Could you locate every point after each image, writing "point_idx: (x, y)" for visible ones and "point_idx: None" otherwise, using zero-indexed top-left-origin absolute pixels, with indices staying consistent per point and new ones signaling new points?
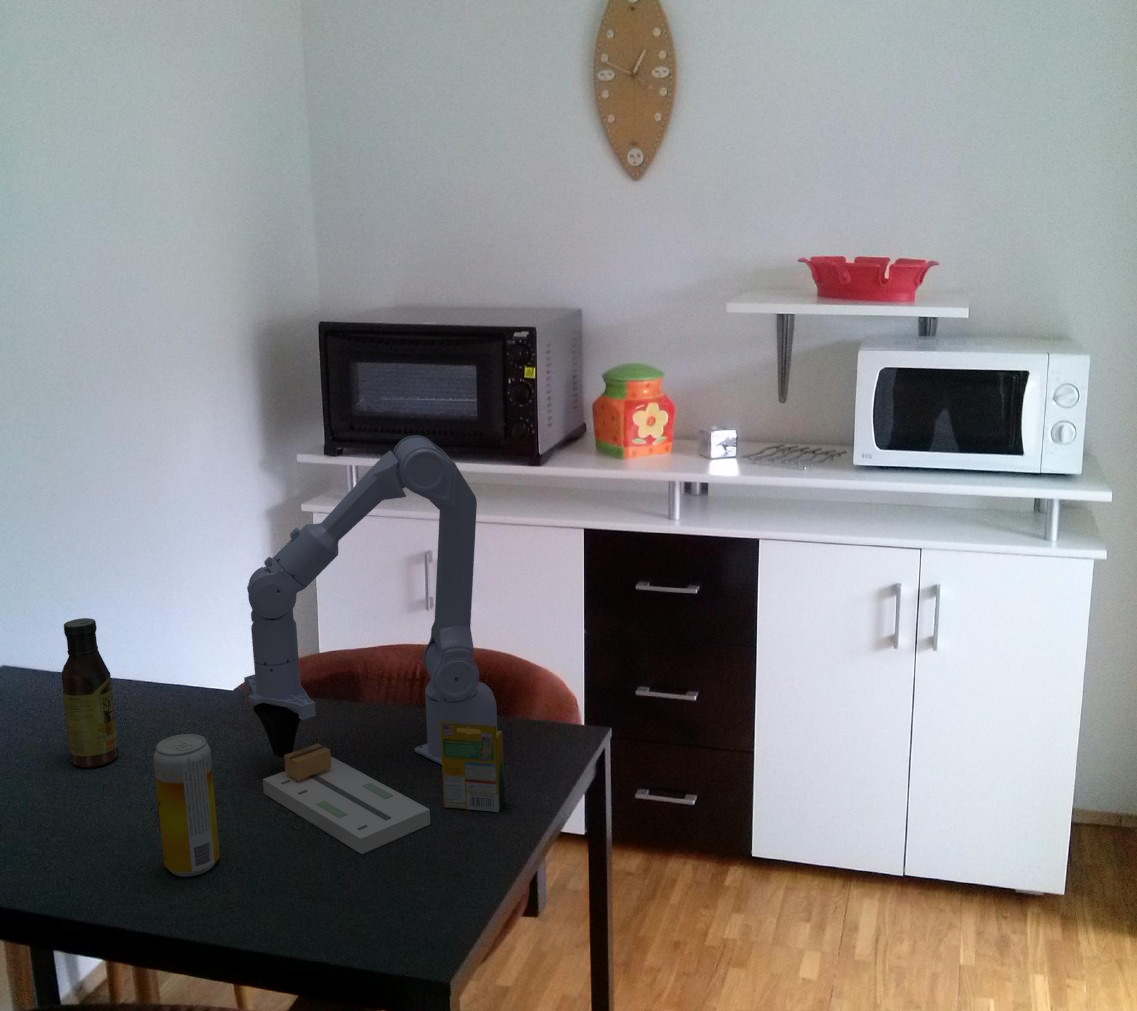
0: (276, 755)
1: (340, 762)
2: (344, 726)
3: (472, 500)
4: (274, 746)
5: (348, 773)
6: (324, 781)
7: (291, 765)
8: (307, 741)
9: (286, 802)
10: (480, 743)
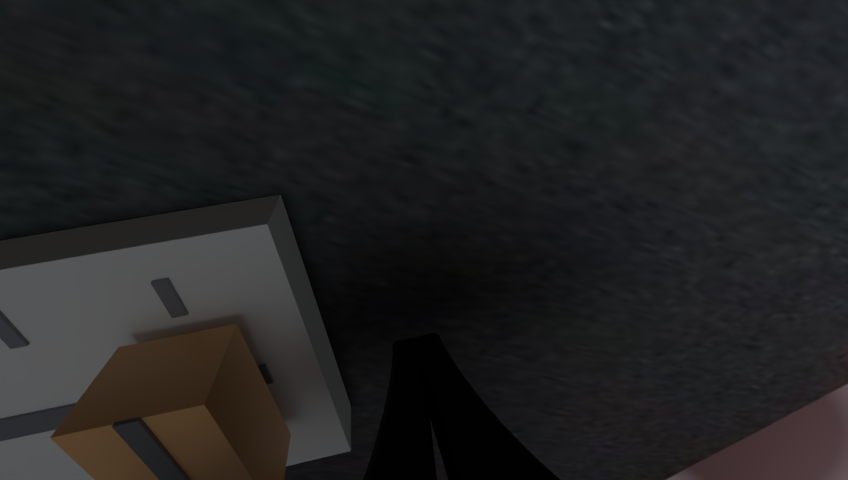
0: (413, 340)
1: None
2: (561, 465)
3: None
4: (412, 374)
5: None
6: None
7: (143, 386)
8: (560, 395)
9: (59, 240)
10: None
